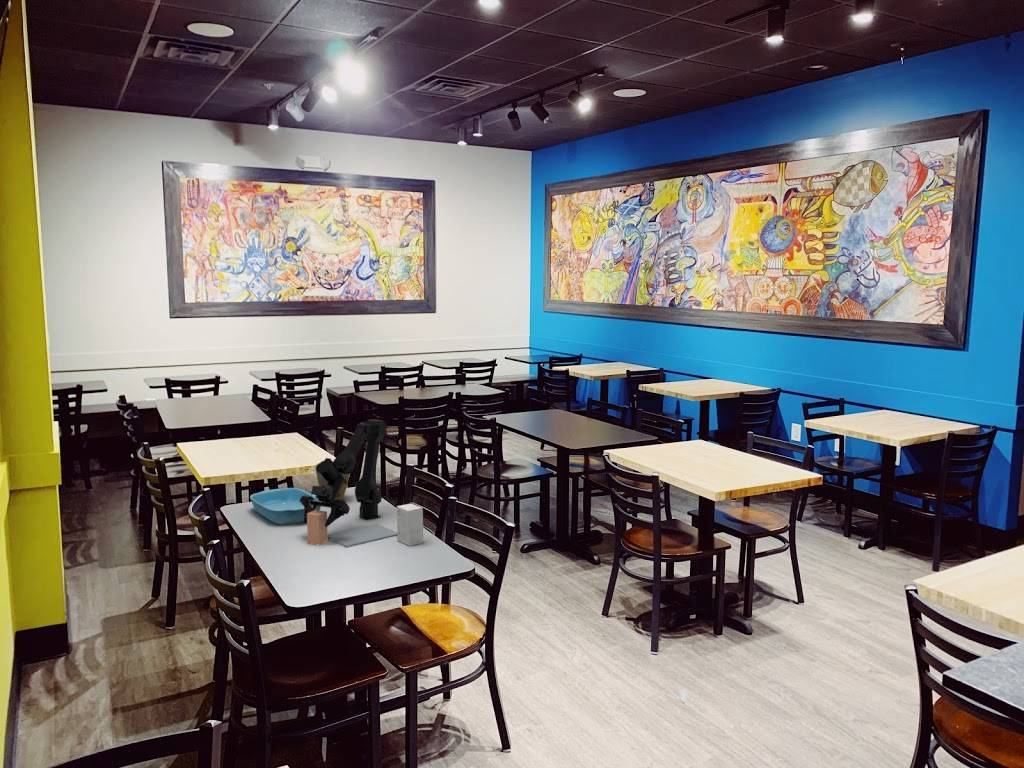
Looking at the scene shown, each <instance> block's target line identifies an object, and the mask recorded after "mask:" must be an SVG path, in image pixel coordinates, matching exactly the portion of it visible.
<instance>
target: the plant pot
mask: <svg viewBox="0 0 1024 768" xmlns="http://www.w3.org/2000/svg"><path fill="white" fill-rule="evenodd" d="M333 461H334V460H332V462H333ZM318 464H319V463H317V464H315V466H314V467H315V473H316V478H317V483H318V486H321V487H322V486H325V485H326V483H327V481H325V480H324V479H323V478H322V477H321V476H320V474H319V473H318V472H317V470H316V467H317V465H318ZM340 474H341V473H340ZM342 475H343V476H344V477H346V480H347V484H343V485H342V487H341V489H340V491H339V494H340V497H337V498H336V499H337V500H344V496H345V494H346V491H347V487H348V484H349V479H350V474H342Z"/></svg>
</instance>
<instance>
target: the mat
mask: <svg viewBox="0 0 1024 768" xmlns="http://www.w3.org/2000/svg"><path fill="white" fill-rule="evenodd" d="M396 535H397V531H395V530H393V529H390V528H388V527H387V526H383V524H382V525H381V524H379V523H374V524H369V525H364V526H359V527H354V528H351V529H346V530H342V531H336V532H332V533H329V534H328V539H329V538H330V540H331V539H332V540H331V541H333V540H334V541H333V542H335V541H336V542H335V543H337V542H338V543H337V544H339V543H340V544H339V545H341V544H342V545H344V546H346V547H347V548H349V547H348V546H351V547H354V546H353V545H355V546H359V545H362V544H368V543H371V541H372V542H375V541H380V540H383V539H384V538H385V539H388V538H392V537H397V536H396ZM367 542H368V543H367ZM358 544H359V545H358ZM342 545H341V546H342ZM344 546H343V547H344ZM346 547H345V548H346Z"/></svg>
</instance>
